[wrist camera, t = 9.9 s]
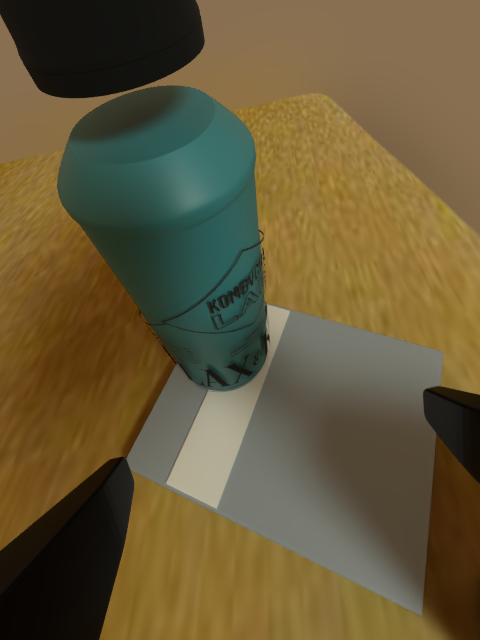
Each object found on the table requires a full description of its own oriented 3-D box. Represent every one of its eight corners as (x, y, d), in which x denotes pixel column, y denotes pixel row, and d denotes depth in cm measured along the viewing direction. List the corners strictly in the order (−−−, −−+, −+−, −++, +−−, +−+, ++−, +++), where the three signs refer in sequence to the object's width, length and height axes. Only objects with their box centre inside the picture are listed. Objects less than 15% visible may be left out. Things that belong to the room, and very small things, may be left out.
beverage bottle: (171, 384, 22) (-223, -22, 5) (208, 311, 25) (49, -101, 8) (253, 415, 20) (95, -66, 3) (283, 333, 23) (294, -148, 6)
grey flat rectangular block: (435, 358, 22) (444, 351, 21) (411, 608, 16) (422, 617, 14) (218, 296, 27) (215, 288, 26) (129, 467, 20) (121, 465, 19)
